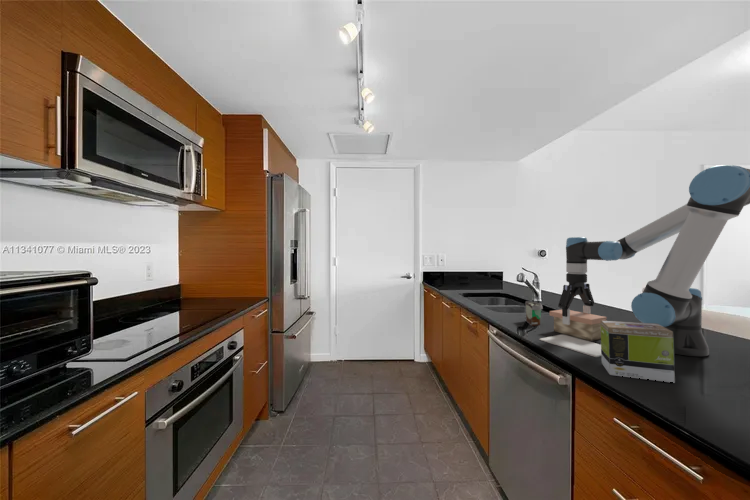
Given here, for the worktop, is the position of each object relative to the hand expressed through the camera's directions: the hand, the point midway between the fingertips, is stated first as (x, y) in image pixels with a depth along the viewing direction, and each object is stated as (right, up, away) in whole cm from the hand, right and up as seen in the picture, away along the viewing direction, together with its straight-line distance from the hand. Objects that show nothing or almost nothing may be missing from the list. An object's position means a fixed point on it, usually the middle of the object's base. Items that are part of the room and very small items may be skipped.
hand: (576, 322), depth 132 cm
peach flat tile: (0, +1, 0) cm, 1 cm away
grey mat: (-9, -6, -14) cm, 17 cm away
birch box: (0, -5, 0) cm, 5 cm away
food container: (-7, -6, +20) cm, 22 cm away
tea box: (-9, -6, -40) cm, 41 cm away
